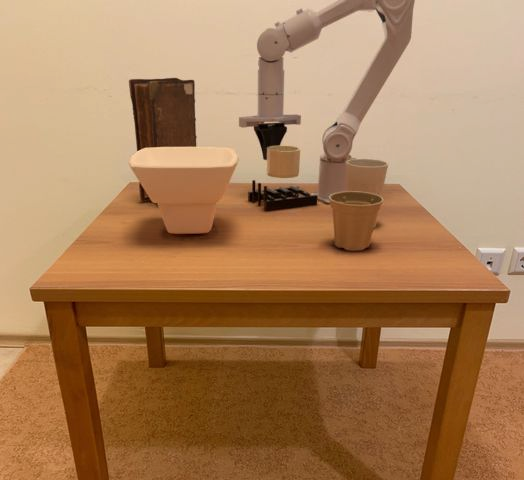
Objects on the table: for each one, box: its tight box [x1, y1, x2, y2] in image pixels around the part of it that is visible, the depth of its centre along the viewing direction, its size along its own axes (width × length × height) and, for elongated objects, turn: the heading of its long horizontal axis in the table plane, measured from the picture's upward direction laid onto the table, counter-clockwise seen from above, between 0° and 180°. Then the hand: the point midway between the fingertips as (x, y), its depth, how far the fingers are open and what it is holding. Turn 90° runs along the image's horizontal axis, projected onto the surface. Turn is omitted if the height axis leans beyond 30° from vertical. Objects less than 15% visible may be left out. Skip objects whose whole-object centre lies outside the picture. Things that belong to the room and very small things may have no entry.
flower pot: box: [329, 191, 385, 252], centre depth 91 cm, size 9×9×9 cm
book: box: [128, 77, 197, 203], centre depth 114 cm, size 17×7×25 cm, turn 144°
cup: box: [346, 158, 389, 228], centre depth 101 cm, size 8×8×12 cm
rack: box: [247, 179, 318, 212], centre depth 116 cm, size 13×10×5 cm
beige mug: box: [265, 144, 301, 179], centre depth 114 cm, size 11×7×6 cm, turn 25°
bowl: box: [128, 146, 239, 235], centre depth 96 cm, size 19×19×14 cm
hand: (269, 159), depth 118 cm, fingers closed on beige mug
